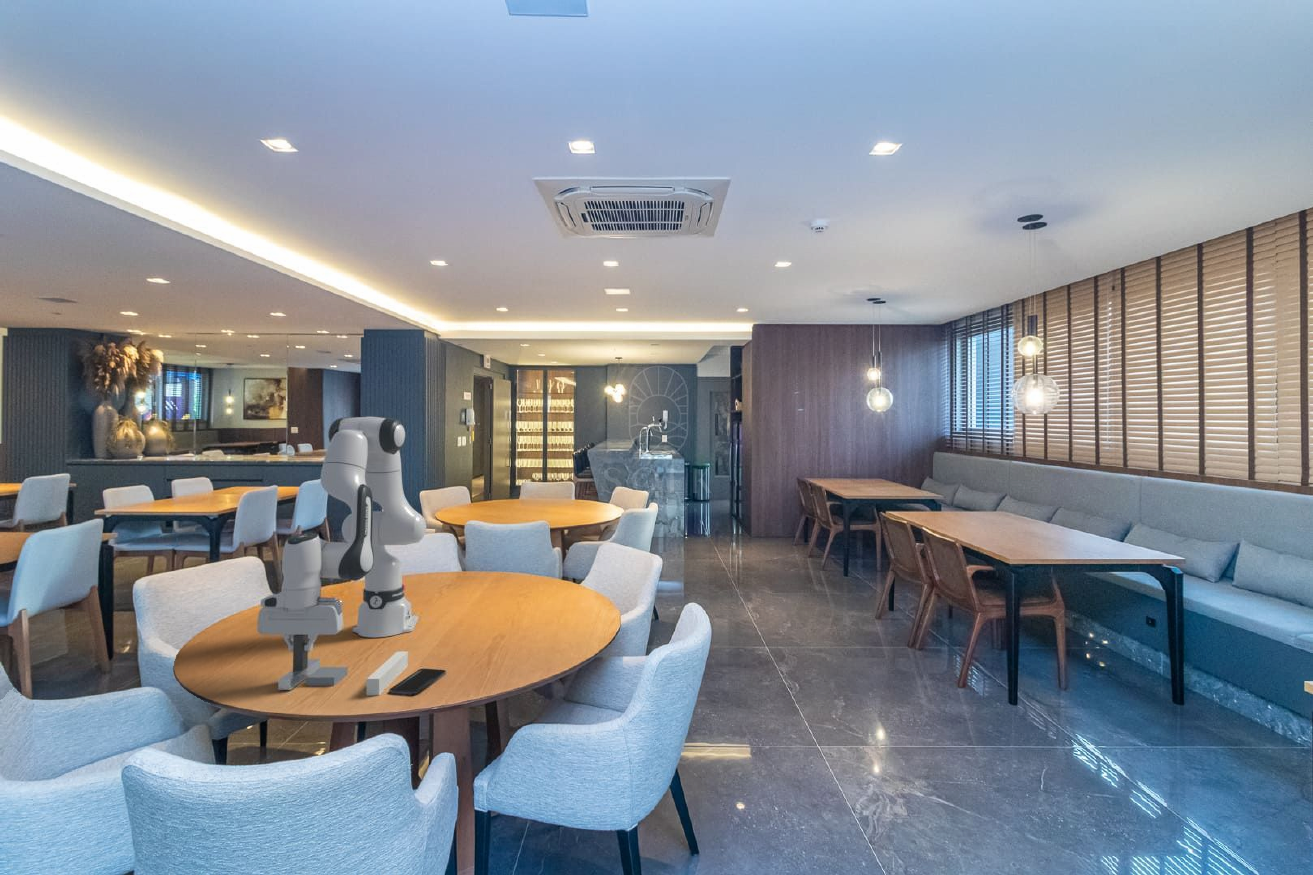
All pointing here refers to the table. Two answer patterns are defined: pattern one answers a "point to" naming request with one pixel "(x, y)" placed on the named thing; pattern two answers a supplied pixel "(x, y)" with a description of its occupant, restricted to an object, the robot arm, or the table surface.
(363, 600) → the robot arm
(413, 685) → the phone
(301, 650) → the upside-down t block
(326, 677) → the slate tile
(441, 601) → the table surface
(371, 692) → the bar
